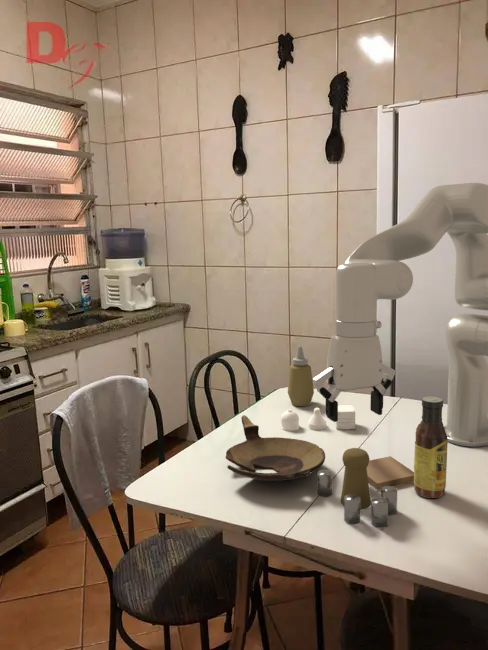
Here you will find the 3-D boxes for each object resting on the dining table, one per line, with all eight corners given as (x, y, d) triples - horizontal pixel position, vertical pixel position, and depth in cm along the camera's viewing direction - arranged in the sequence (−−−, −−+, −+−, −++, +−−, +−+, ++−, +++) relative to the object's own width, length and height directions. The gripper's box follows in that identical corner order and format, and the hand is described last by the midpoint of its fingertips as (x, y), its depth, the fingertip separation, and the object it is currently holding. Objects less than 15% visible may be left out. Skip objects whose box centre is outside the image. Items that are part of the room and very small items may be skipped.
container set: (352, 423, 150) (352, 404, 149) (355, 430, 145) (355, 411, 144) (280, 424, 152) (279, 405, 150) (280, 431, 146) (280, 412, 145)
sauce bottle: (441, 502, 107) (445, 407, 103) (409, 495, 110) (411, 402, 106) (448, 488, 112) (452, 397, 109) (418, 481, 116) (420, 392, 112)
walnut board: (390, 462, 125) (390, 456, 125) (417, 481, 116) (417, 474, 116) (352, 470, 122) (352, 463, 122) (377, 490, 113) (377, 483, 113)
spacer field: (361, 481, 117) (361, 462, 116) (409, 521, 101) (410, 499, 100) (315, 491, 113) (315, 471, 112) (357, 534, 97) (357, 511, 97)
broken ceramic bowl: (225, 503, 110) (223, 468, 109) (226, 443, 140) (225, 415, 138) (334, 498, 110) (334, 463, 109) (313, 440, 140) (313, 411, 138)
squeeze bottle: (286, 407, 164) (285, 350, 160) (288, 399, 172) (287, 343, 168) (313, 408, 163) (312, 350, 159) (314, 399, 170) (313, 343, 167)
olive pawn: (371, 511, 105) (372, 458, 103) (340, 508, 106) (339, 456, 104) (370, 495, 111) (371, 445, 109) (340, 493, 112) (340, 443, 110)
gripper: (384, 322, 108) (382, 404, 111) (305, 329, 102) (305, 416, 105) (406, 328, 101) (404, 416, 104) (323, 336, 95) (323, 429, 98)
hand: (354, 416), depth 105 cm, fingers open, 9 cm apart
